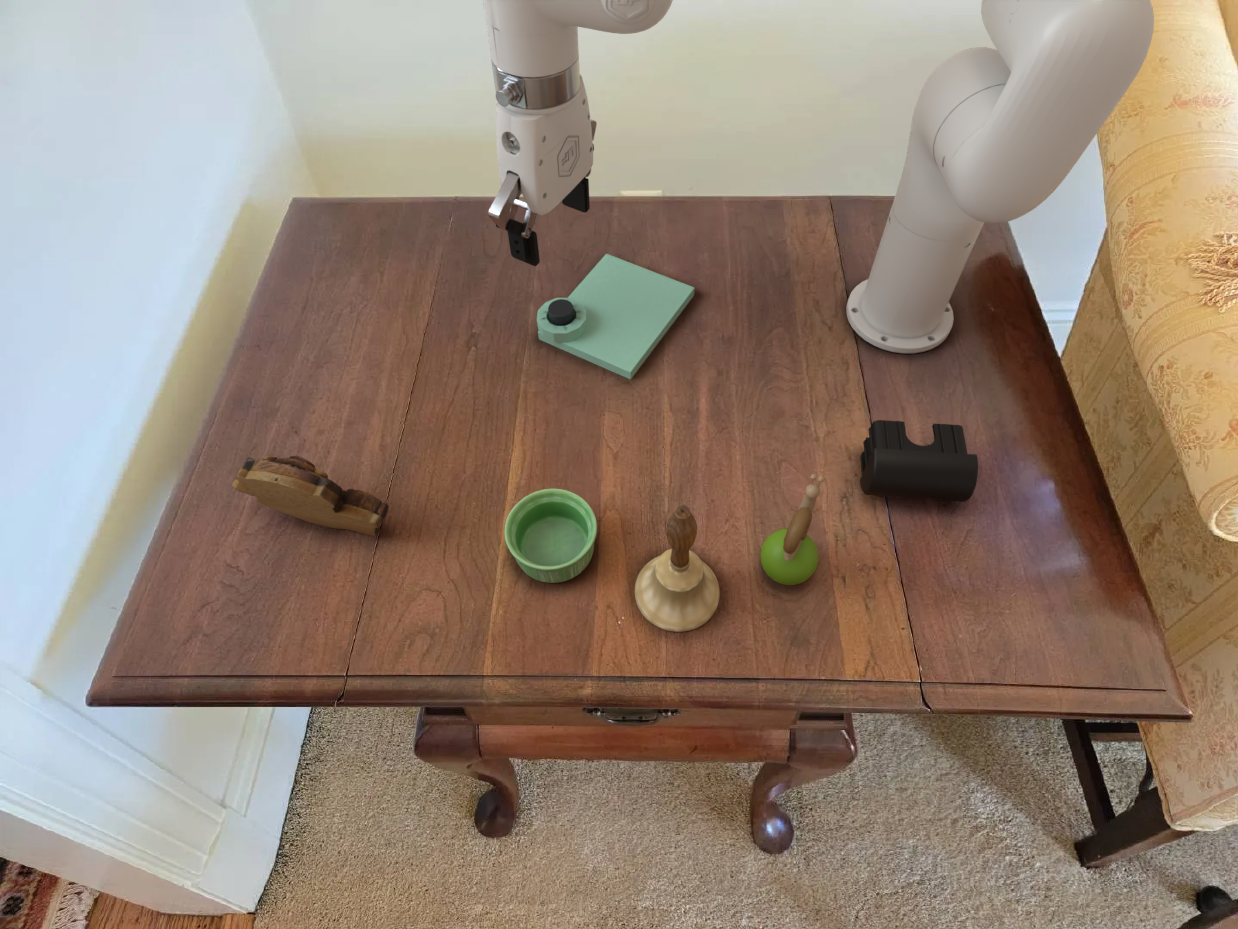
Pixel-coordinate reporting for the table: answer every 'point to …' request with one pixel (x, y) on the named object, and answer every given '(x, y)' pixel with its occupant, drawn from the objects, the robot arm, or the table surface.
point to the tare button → (561, 312)
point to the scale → (617, 315)
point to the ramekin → (551, 534)
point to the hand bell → (678, 581)
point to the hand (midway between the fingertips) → (551, 232)
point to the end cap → (917, 464)
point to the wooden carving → (309, 494)
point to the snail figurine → (793, 544)
